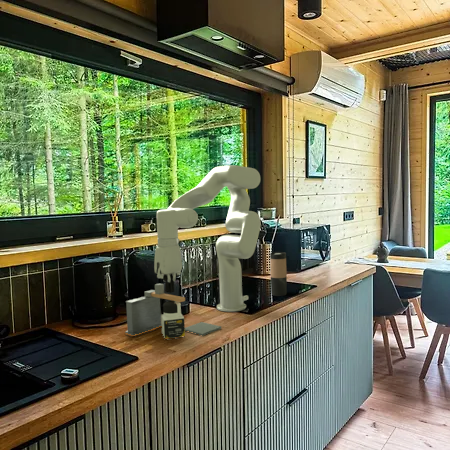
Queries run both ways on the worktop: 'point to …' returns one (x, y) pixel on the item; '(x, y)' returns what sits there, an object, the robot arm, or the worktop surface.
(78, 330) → the worktop surface
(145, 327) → the rail
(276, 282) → the travel mug
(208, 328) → the slate coaster
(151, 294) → the bar
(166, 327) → the medicine bottle
